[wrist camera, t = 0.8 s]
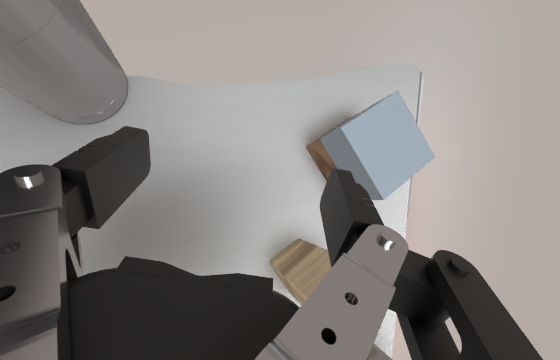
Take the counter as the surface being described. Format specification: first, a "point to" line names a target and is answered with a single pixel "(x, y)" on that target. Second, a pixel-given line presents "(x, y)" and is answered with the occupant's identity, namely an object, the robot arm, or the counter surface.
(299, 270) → the oak post
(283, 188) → the counter surface
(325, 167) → the lower block
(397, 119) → the upper block
